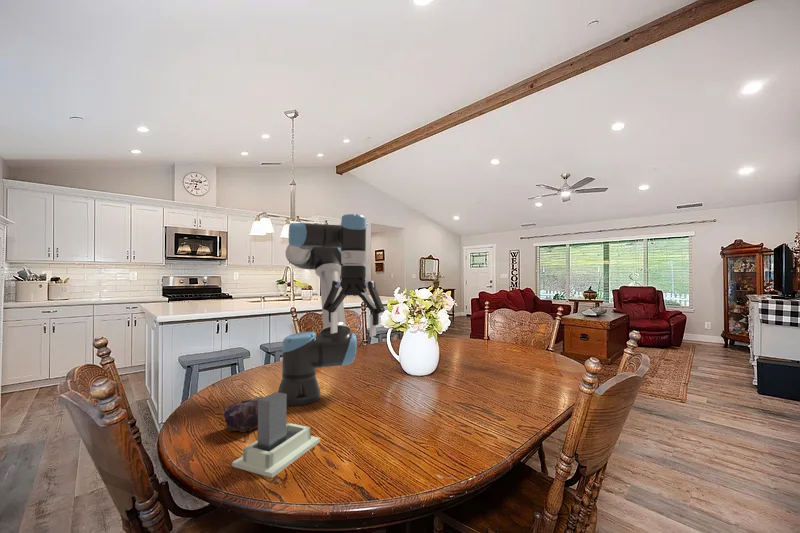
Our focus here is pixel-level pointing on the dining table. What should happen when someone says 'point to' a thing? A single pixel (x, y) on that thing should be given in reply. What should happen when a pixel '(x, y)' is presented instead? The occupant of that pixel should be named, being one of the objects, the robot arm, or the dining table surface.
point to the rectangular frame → (277, 453)
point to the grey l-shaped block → (272, 421)
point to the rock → (242, 415)
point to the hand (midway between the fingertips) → (352, 334)
